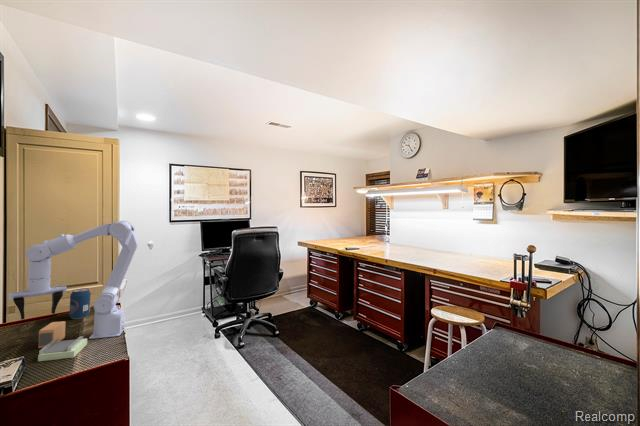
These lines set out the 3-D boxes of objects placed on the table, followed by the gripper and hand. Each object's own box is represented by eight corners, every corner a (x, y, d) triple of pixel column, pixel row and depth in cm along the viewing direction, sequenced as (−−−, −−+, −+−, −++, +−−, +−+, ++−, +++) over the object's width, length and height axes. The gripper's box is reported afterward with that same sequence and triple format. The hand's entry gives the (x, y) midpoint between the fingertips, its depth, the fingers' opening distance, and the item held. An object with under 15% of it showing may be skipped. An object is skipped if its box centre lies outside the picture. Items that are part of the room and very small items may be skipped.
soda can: (65, 318, 123) (66, 291, 123) (82, 313, 129) (83, 287, 130) (76, 320, 121) (77, 292, 121) (93, 315, 127) (94, 288, 128)
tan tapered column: (64, 337, 105) (65, 321, 105) (52, 347, 97) (53, 330, 97) (51, 338, 104) (52, 322, 104) (37, 349, 95) (38, 331, 96)
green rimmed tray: (87, 343, 100) (87, 334, 100) (73, 357, 91) (74, 347, 91) (55, 347, 97) (55, 337, 97) (37, 361, 87) (38, 351, 88)
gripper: (64, 273, 108) (63, 308, 108) (8, 279, 97) (7, 318, 97) (68, 276, 104) (66, 312, 104) (9, 282, 93) (8, 323, 93)
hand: (38, 315), depth 100 cm, fingers open, 7 cm apart
